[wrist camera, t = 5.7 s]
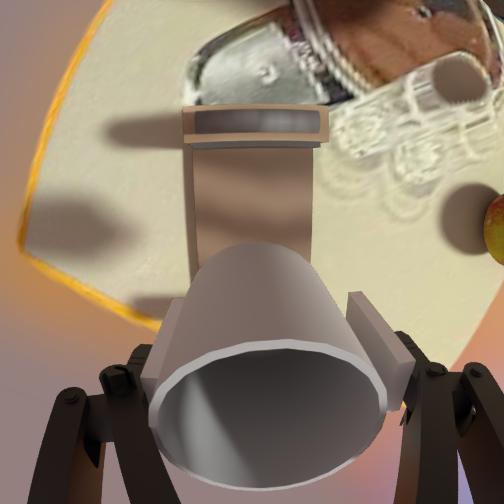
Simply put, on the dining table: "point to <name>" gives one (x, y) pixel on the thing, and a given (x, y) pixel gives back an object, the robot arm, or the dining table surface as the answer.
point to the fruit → (495, 229)
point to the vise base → (253, 198)
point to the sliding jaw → (255, 126)
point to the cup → (264, 376)
